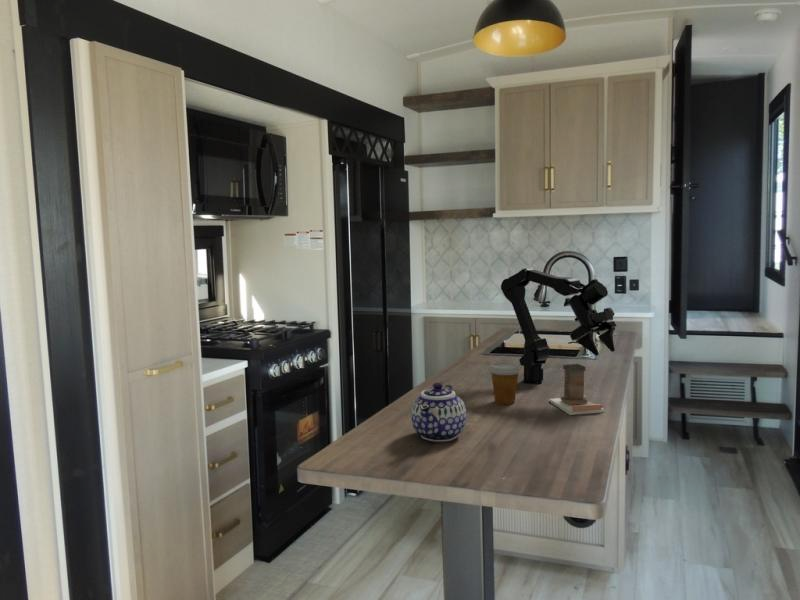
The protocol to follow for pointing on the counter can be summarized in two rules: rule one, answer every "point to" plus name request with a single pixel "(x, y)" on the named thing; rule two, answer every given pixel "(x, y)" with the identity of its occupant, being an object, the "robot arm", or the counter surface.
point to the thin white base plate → (577, 407)
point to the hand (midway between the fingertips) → (605, 353)
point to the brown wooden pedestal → (574, 384)
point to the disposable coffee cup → (504, 382)
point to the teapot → (438, 414)
